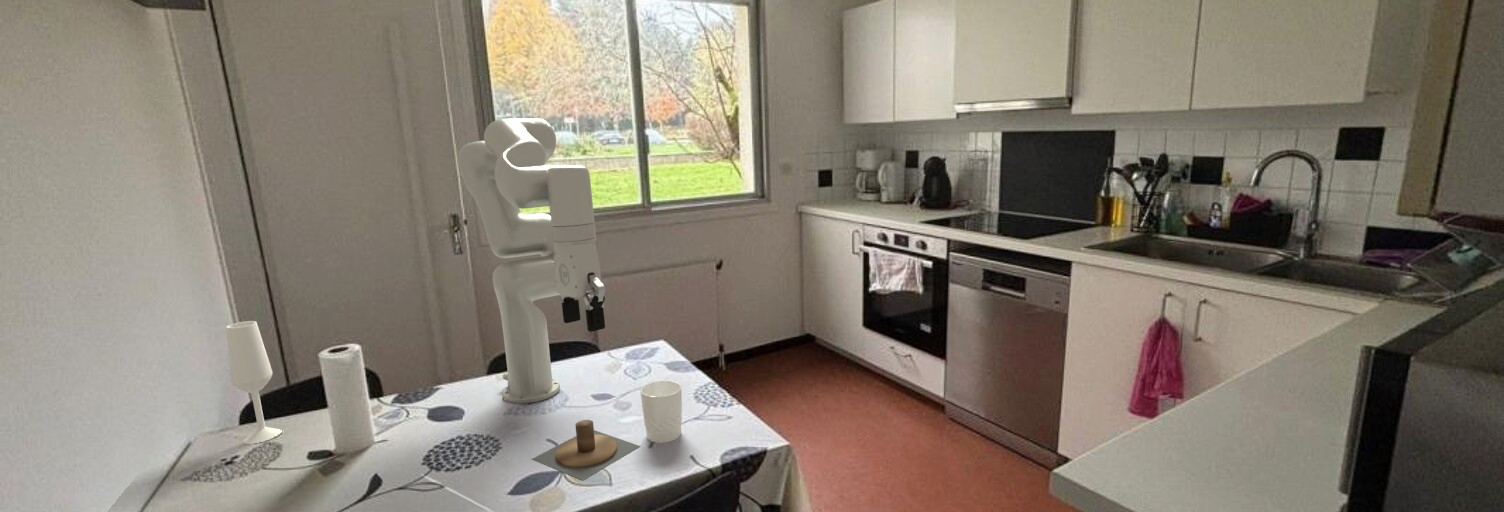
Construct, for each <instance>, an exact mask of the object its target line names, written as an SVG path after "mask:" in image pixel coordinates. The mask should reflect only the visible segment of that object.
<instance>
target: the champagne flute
mask: <svg viewBox="0 0 1504 512" xmlns="http://www.w3.org/2000/svg"><path fill="white" fill-rule="evenodd" d="M259 328H260V327H259V326H258V322H257V320H256V321H255V320H247V321H239V322H236V323H232V324H229V325H227V326H226V340H227V351H228V352H227V354H228V364H229V377H230V383H231V385H233V386H234V387H235V388H237V389H238V390H241V391H243V392H245V393H248V394H251V399H252V403H253V409H254V412H255V414H254V415H255V418H256V424H257V429H256V430H255V431H253V432H252V433H251V434H249V435H248V436H246V437H245V438H244V439H243V440H242V442H243V444H245V445H255V444H254V443H258V444H260V443H259V442H263V441H265V440H269V439H271V438H273V437H274V436H277V435H278V434H280V433H281V432H282V430H283V429H281V430H280V429H279V428H275V427H268V426H266V423H265V418H264V413H263V409H262V408H263V407H262V403H261V396H260V391H261V390H263V389H264V387H265V386H266V385H268V383H269V382H270V380H272V379H271V378H272V377H273V369H272V365H271V362H270V359H269V357H268V353H267V350H266V348H265V345H264V341H263V338H262V335H261V334H262V333H261V332H260V329H259ZM263 443H264V442H263Z"/></svg>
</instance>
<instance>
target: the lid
mask: <svg viewBox="0 0 1504 512" xmlns="http://www.w3.org/2000/svg"><path fill="white" fill-rule="evenodd" d="M574 426H575V436H576V438H573V437H572V438H573V439H571V438H570V439H571V440H570V439H568V440H569V441H568V440H566V441H567V442H566V441H564V442H565V443H564V442H562V443H563V444H562V443H561V444H562V445H561V446H560V447H559V448H558V449H557V451H556V459H557V461H558V463H560V464H561V465H563V466H566V467H572V468H583V467H590V466H594V465H598V464H600V463H603V462H605V461H607V460H608V459H610V458H611V457H613V455H614V454H615V453H616V451H617V444H616V441H615V440H614V439H613V438H611V437H609V436H605V435H594V430H595V428H594V421H593V420H590V419H582V420H580V421H578V422H576V423H575V425H574Z"/></svg>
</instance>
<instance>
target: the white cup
mask: <svg viewBox="0 0 1504 512" xmlns="http://www.w3.org/2000/svg"><path fill="white" fill-rule="evenodd" d="M682 396H683V395H682V385H681V384H680V383H679V382H676V381H672V380H658V381H654V382H648V383H647V384H645V385H643V386H642V387H641V389H640V400H641V408H642V414H643V421H644V426H645V432H646V439H647V440H649V441H650V442H652V443H658V444H659V443H662V444H663V443H670V442H672V441H674V440H677V439H678V438H680V436H681V435H682V419H683V418H682V416H683V415H682V414H683V413H682V411H683V409H682V404H683V403H682V399H683V398H682Z"/></svg>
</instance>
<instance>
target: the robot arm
mask: <svg viewBox="0 0 1504 512" xmlns="http://www.w3.org/2000/svg"><path fill="white" fill-rule="evenodd" d="M556 136H557V135H556V133H555V130H554V128H553V126H552V125H551V124H550V123H549V122H548V121H546V120H545V119H542V118H536V117H535V118H502V119H496V120H494V121H492V122H491V123H490V124H488V126H487V127H486V128H485V130H484V134H483V139H484V140H477V141H473V142H469V143H466V144H465V145H463V146H462V147H461V148H460V149H459V153H458V166H459V172H460V175H461V178H462V180H463V182H464V185H465V186H466V188H467V190H468V191H469V193H470V195H471V196H472V197H473V199H474V201H475V203H476V205H477V207H478V210H479V213H480V217H481V220H482V223H483V228H484V230H485V231H484V232H485V235H486V237H487V241H488V244H489V248H490V250H491V251H492V253H493V255H494V256H495V257H498V258H500V259H509V258H510V259H511V258H520V257H526V256H527V258H524V259H523V258H521V259H515V260H510V261H509V260H508V261H505V262H504V263H501V264H499V265H498V266H497V267H496V268H495V269H494V271H493V274H492V285H493V289H494V292H495V296H496V299H497V303H498V307H499V312H500V319H501V326H502V333H503V341H504V349H505V351H504V353H505V360H506V368H507V373H504V374H503V375H502V379H503V380H506V381H507V386H506V387H505V388H504V390H503V391H502V397H503V400H505V401H506V402H509V403H513V404H530V403H535V402H536V403H537V402H539V401H543V400H546V399H548V398H552V397H553V396H555V395H556V394H557V393H559V392H560V389H561V388H560V387H561V386H560V382H559V381H558V380H556V379H553V376H552V375H553V374H552V364H551V363H552V362H551V356H550V355H551V354H550V345H549V344H550V343H549V335H548V334H549V333H548V325H547V317H546V315H545V314H544V313H543V311H542V310H541V309H540V308H538V307H537V306H536V305H535V304H534V301H537V300H541V299H545V298H551V297H556V296H559V297H560V298H559V301H560V302H561V308H562V318H563V323H565V324H569V323H573V322H579V321H580V320H581V311H580V299H581V298H582V299H583V302H584V303H585V306H586V309H585V317H586V318H585V319H586V326H587V328H586V329H587V331H588V332H590V333H592V332H596V331H601V330H604V329H605V328H606V322H605V313H604V311H605V310H604V307H605V300H606V296H605V294H606V285H604V283H603V282H602V277H601V269H600V268H601V267H600V261H599V256H598V251H597V246H596V241H597V234H596V224H595V212H594V205H593V195H592V184H591V175H590V171H589V169H588V168H587V167H586V166H584V165H579V164H578V165H570V164H569V165H568V164H561V165H559V164H557V165H546V163H547V162H548V161H549V160H550V159H551V157H552V156H553V154H554V152H555V150H556V146H557V137H556ZM543 207H549V214H548V213H544V212H543V213H532V214H531V213H530V214H523V213H522V211H521V209H533V208H543ZM533 255H540V256H537V257H529V258H528V256H533ZM591 299H592V300H591Z"/></svg>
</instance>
